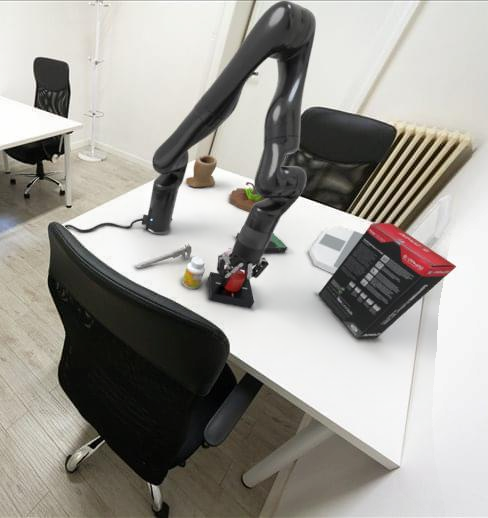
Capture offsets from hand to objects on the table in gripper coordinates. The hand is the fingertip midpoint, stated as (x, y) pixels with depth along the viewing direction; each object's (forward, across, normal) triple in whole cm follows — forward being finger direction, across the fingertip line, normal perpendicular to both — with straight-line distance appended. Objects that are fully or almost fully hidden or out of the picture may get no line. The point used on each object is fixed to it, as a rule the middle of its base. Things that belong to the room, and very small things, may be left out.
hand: (231, 284), depth 88 cm
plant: (+4, -30, -61) cm, 68 cm away
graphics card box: (+4, -32, +7) cm, 33 cm away
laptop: (+4, -53, -22) cm, 58 cm away
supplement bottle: (+4, +11, -4) cm, 12 cm away
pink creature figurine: (+4, -10, -20) cm, 22 cm away
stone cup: (+4, -10, -78) cm, 78 cm away
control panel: (+4, 0, 0) cm, 4 cm away
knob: (+1, 0, 0) cm, 1 cm away
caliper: (+4, +18, -13) cm, 23 cm away
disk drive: (+4, -20, -26) cm, 34 cm away
